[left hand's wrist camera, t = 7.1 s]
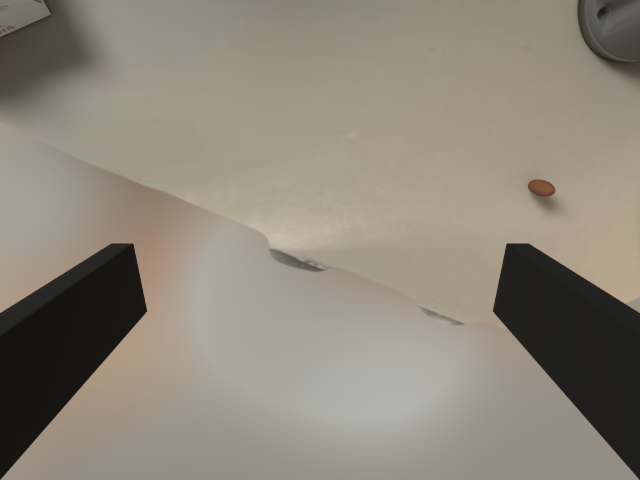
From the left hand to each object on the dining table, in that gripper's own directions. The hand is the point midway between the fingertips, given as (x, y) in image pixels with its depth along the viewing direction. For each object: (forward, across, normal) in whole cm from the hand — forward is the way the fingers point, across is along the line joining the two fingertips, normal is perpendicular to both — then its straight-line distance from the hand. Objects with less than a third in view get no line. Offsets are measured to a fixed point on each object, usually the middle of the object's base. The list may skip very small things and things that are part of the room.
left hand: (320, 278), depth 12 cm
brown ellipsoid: (+37, -30, +4) cm, 48 cm away
